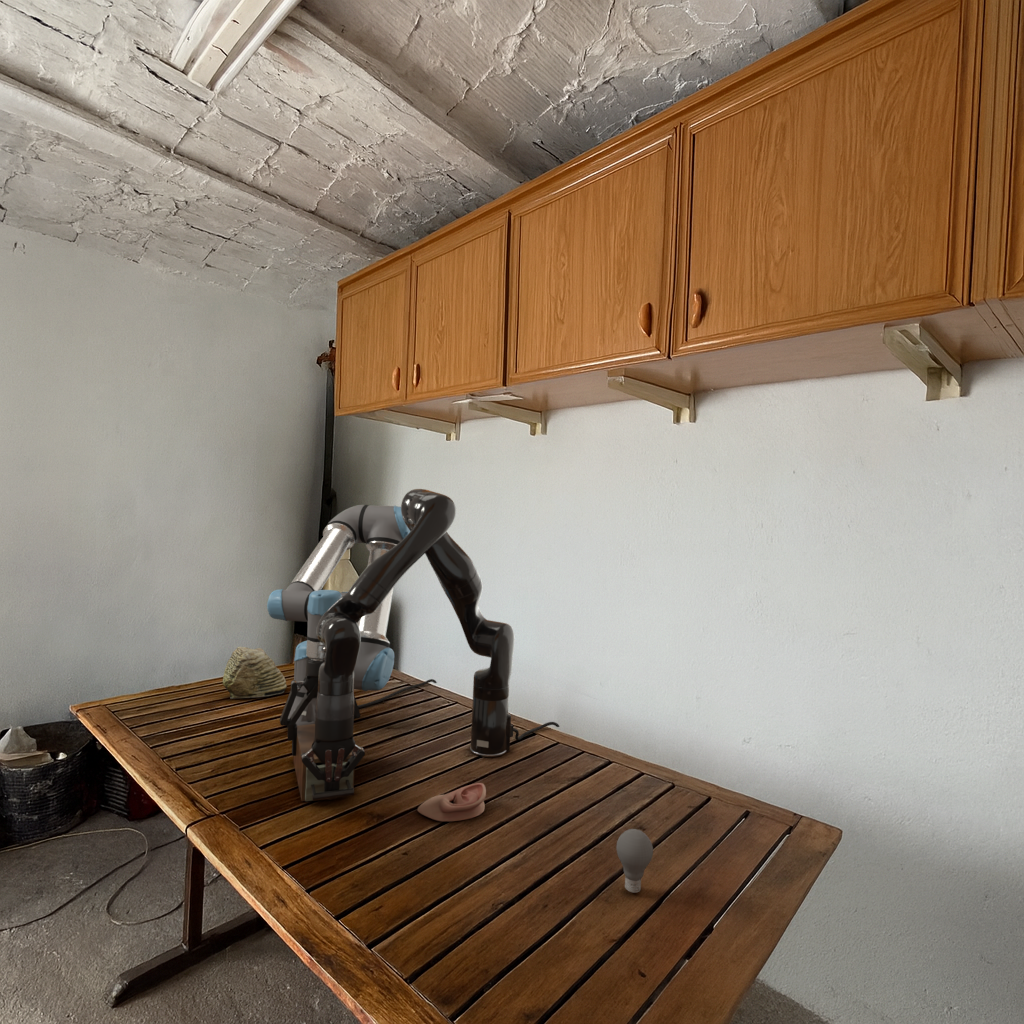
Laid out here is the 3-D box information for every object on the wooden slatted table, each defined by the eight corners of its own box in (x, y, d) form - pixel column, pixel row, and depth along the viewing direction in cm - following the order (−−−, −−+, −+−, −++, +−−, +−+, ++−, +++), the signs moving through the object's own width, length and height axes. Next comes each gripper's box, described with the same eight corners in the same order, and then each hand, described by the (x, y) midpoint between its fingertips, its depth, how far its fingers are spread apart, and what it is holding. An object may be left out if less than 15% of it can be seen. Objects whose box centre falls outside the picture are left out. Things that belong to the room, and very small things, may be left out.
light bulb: (610, 879, 108) (613, 822, 108) (644, 879, 109) (647, 822, 109) (619, 902, 102) (622, 840, 102) (655, 901, 103) (658, 840, 103)
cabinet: (353, 794, 136) (354, 754, 135) (301, 801, 131) (302, 760, 131) (339, 756, 155) (340, 721, 154) (293, 761, 150) (294, 725, 150)
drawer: (357, 807, 128) (358, 774, 128) (308, 814, 124) (309, 781, 124) (339, 758, 151) (340, 730, 151) (297, 763, 147) (298, 735, 147)
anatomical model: (412, 797, 126) (431, 773, 138) (411, 817, 126) (430, 791, 138) (476, 807, 124) (490, 781, 135) (476, 827, 124) (489, 800, 135)
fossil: (218, 695, 195) (220, 647, 195) (278, 685, 208) (279, 640, 207) (228, 703, 189) (230, 653, 188) (289, 692, 201) (290, 645, 201)
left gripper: (271, 664, 140) (267, 763, 140) (375, 658, 149) (372, 751, 150) (269, 656, 147) (265, 750, 147) (369, 650, 156) (366, 739, 156)
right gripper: (302, 722, 122) (298, 811, 122) (371, 715, 127) (367, 801, 128) (298, 709, 129) (295, 794, 129) (364, 704, 134) (361, 785, 134)
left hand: (319, 750), depth 148 cm, fingers closed on cabinet, 11 cm apart
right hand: (331, 797), depth 128 cm, fingers closed
